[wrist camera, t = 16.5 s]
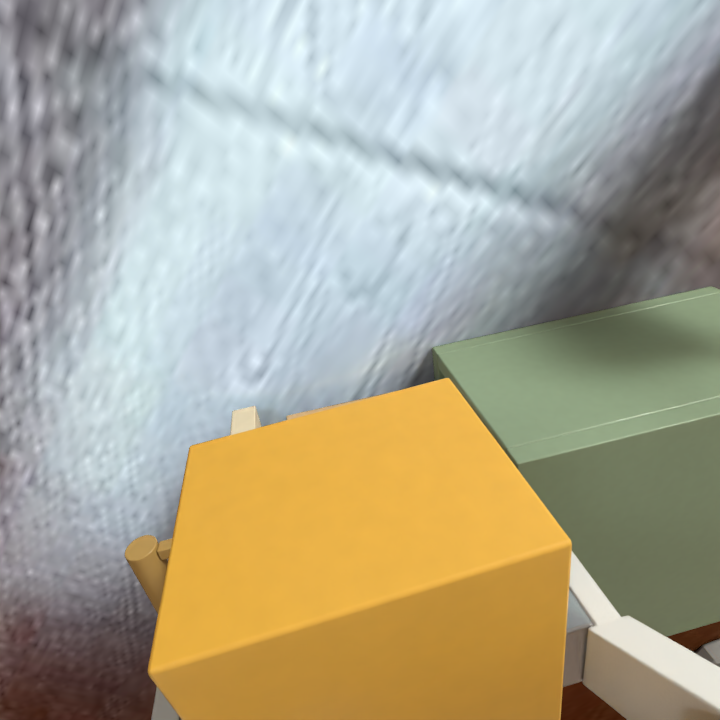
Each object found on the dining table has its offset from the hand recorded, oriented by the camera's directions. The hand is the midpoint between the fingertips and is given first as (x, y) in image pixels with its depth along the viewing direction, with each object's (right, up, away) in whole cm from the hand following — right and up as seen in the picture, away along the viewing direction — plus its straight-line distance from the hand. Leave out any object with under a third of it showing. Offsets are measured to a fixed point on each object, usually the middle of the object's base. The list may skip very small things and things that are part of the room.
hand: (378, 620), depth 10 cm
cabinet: (+13, +1, +20) cm, 24 cm away
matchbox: (0, +1, +1) cm, 2 cm away
